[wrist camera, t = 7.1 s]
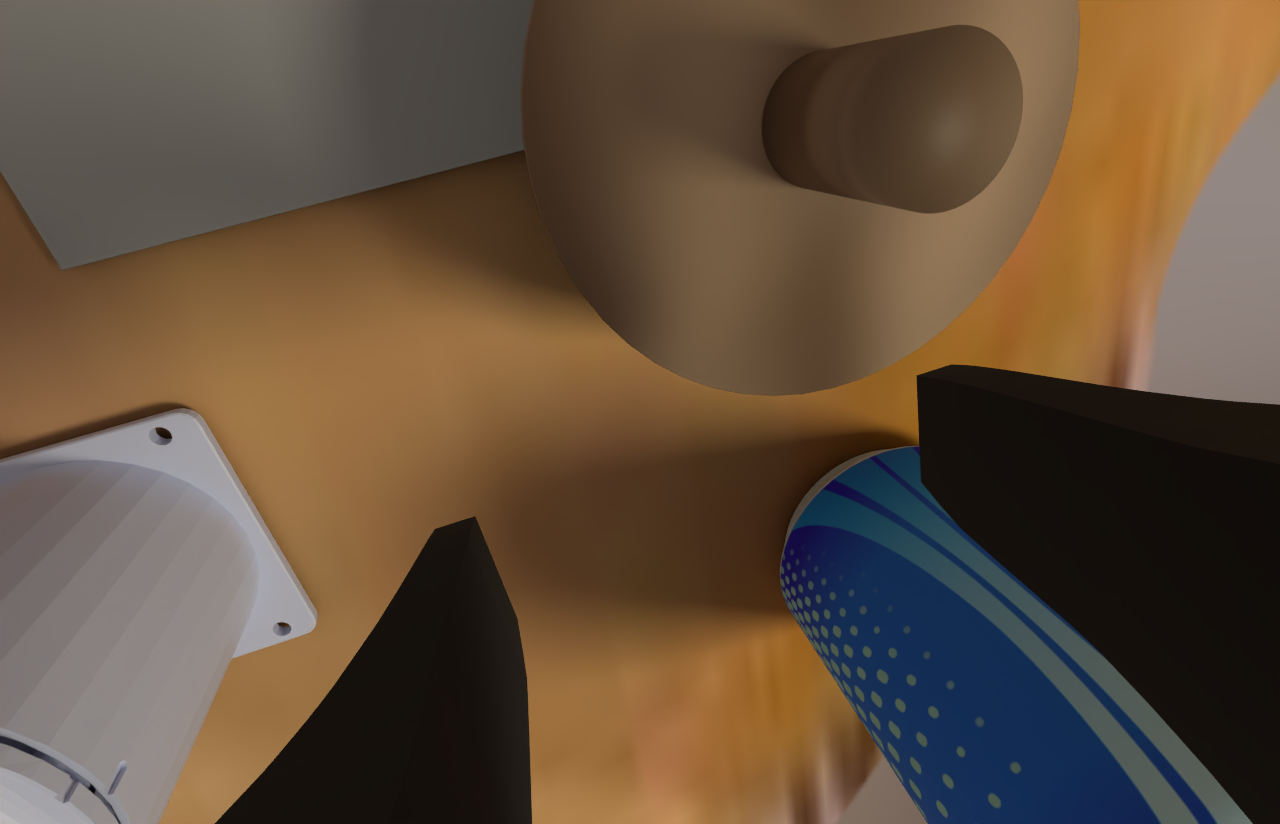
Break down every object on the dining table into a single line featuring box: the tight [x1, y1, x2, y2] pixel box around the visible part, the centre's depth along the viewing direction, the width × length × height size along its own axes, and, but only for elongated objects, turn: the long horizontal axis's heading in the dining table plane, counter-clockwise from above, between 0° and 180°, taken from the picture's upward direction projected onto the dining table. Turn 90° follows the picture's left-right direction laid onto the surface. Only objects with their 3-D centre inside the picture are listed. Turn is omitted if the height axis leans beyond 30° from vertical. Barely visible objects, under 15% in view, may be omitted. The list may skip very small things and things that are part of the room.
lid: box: [520, 0, 1080, 396], centre depth 12 cm, size 12×12×5 cm
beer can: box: [780, 446, 1253, 824], centre depth 18 cm, size 8×8×16 cm
